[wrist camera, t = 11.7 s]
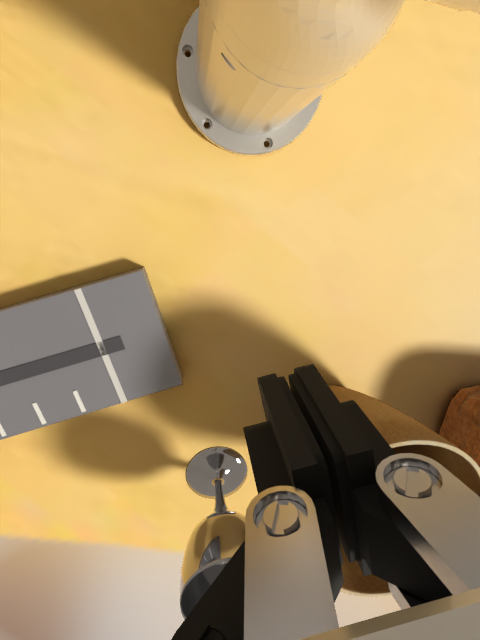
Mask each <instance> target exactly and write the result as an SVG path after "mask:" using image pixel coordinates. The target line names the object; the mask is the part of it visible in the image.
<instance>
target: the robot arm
mask: <svg viewBox="0 0 480 640" xmlns="http://www.w3.org/2000/svg"><path fill="white" fill-rule="evenodd" d="M426 1H430V2H433V3H436V4H439V5H443V6H446V7H449V8H452V9H455V10H459V11H473V12H476V13H479V14H480V0H426ZM403 3H404V0H199V6H198V8H197V9H196V10H195V11H194V12H193V13H192V15H191V17H190V18H189V20H188V22H187V24H186V26H185V27H184V30H183V33H182V36H181V39H180V42H179V46H178V53H177V60H176V72H177V83H178V89H179V93H180V96H181V100H182V103H183V106H184V108H185V110H186V112H187V114H188V116H189V118H190V119H191V121H192V122H193V124H194V125H195V127H196V128H197V129H198V131H199V132H200V133H201V134H202V135H204V136H205V137H206V138H207V139H208V140H209V141H210V142H212V143H213V144H215V145H216V146H218V147H219V148H221V149H223V150H226V151H228V152H231V153H234V154H239V155H244V156H259V155H264V154H268V153H272V152H274V151H276V150H279V149H281V148H283V147H284V146H286V145H288V144H289V143H291V142H292V141H293V140H294V139H295V138H297V137H298V136H299V135H300V134H301V133H302V132H303V131H304V129H305V128H306V127H307V126H308V124H309V123H310V122H311V120H312V118H313V116H314V114H315V112H316V110H317V108H318V105H319V103H320V100H321V97H322V93H323V92H325V91H326V90H327V89H328V88H329V87H331V86H332V85H333V84H334V83H336V82H337V81H338V80H339V79H340V78H342V77H343V76H344V75H345V74H347V73H348V72H349V71H350V70H352V69H353V68H354V67H355V66H356V65H357V64H358V63H359V62H361V61H362V60H363V59H364V58H365V57H366V56H367V55H368V54H369V53H370V52H371V51H372V50H373V49H374V48H375V47H376V46H377V45H378V44H379V43H380V41H381V40H382V39H383V38H384V36H385V35H386V33H387V32H388V30H389V29H390V27H391V26H392V24H393V23H394V21H395V19H396V17H397V15H398V13H399V11H400V9H401V7H402V5H403ZM185 52H190V54H191V56H190V57H186V56H185ZM204 123H209V125H210V127H209V128H205V127H204ZM265 141H267V142H268V143H269V146H268V147H265V146H264V142H265ZM257 379H258V384H259V389H260V393H261V398H262V402H263V407H264V412H265V416H266V421H267V422H263V423H259V424H255V425H251V426H247V427H243V429H244V433H245V438H246V442H247V447H248V451H249V456H250V460H251V464H252V469H253V473H254V478H255V482H256V487H257V491H258V495H257V496H256V497H254V498H253V499H252V501H251V502H250V504H249V506H248V508H247V511H246V516H245V540H244V542H243V543H242V544H241V546H240V547H239V548H238V550H237V551H236V552H235V554H234V555H233V556H232V558H231V559H230V560H229V562H228V563H227V564H226V566H225V567H224V568H223V570H222V571H221V572H220V574H219V575H218V576H217V578H216V579H215V580H214V582H213V583H212V584H211V586H210V587H209V588H208V590H207V591H206V592H205V594H204V595H203V597H202V598H201V599H200V601H199V602H198V603H197V605H196V606H195V607H194V609H193V610H192V611H191V613H190V614H189V615H188V617H187V618H186V619H185V621H184V622H183V623H182V625H181V626H180V627H179V629H178V630H177V631H176V633H175V634H174V636H173V638H172V640H480V495H478V494H476V493H474V492H473V491H472V490H471V489H470V488H468V487H467V486H466V485H465V484H464V483H462V482H461V481H460V480H459V479H458V478H456V477H455V476H454V475H453V474H452V473H451V472H449V471H448V470H447V469H446V468H445V467H443V466H442V465H441V464H439V463H438V462H436V461H435V460H433V459H431V458H429V457H426V456H423V455H419V454H413V453H400V454H396V453H395V452H394V450H393V449H392V448H391V447H390V445H389V444H388V443H387V441H386V440H385V439H384V438H383V436H382V435H381V434H380V433H379V431H378V430H377V429H376V427H375V426H374V425H373V424H372V422H371V421H370V420H369V418H368V417H367V416H366V415H365V413H364V412H363V411H362V409H361V408H360V407H359V406H358V404H357V403H356V402H355V401H354V400H349V401H345V402H341V403H340V402H339V400H338V399H337V397H336V396H335V395H334V393H333V392H332V390H331V389H330V387H329V386H328V385H327V383H326V382H325V380H324V379H323V378H322V376H321V375H320V373H319V372H318V371H317V369H316V368H315V366H314V365H313V364H311V365H307V366H303V367H299V368H295V369H294V374H291V375H289V382H290V387H291V390H290V388H289V386H288V384H287V382H286V380H285V378H284V376H283V377H279V378H277V376H276V374H271V375H267V376H263V377H259V378H257ZM340 542H341V545H342V547H343V549H344V552H345V554H346V556H347V558H348V560H349V562H350V563H351V562H355V561H357V562H358V564H359V566H360V568H361V571H362V573H363V575H364V576H367V575H371V574H372V575H374V576H377V577H379V578H381V579H383V580H385V581H387V582H388V587H389V589H390V591H391V593H392V596H393V597H394V599H395V600H396V602H397V603H398V605H399V606H400V607H401V609H402V610H400V611H396V612H393V613H389V614H386V615H383V616H379V617H375V618H372V619H368V620H365V621H361V622H358V623H354V624H351V625H347V626H344V627H341V628H339V626H338V621H337V616H336V610H335V606H334V602H335V600H336V598H337V596H338V594H339V592H340V590H341V588H342V585H343V583H344V579H343V573H342V567H341V565H343V558H342V552H341V545H340Z"/></svg>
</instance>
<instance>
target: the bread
mask: <svg viewBox="0 0 480 640" xmlns="http://www.w3.org/2000/svg"><path fill="white" fill-rule="evenodd" d="M439 435H440V436H442V437H443V438H445V439H446V440H447V441H449V442H450V443H452V444H453V445H455V446H456V447H458V448H459V449H460V450H462V451H463V452H465V453H466V454H467V455H468V456H470V457H471V458H472V459H473V460H474V461H475V462H476V463H477V465H478V466H479V468H480V385H478V386H473V387H468V388H463V389H460V390H459V391H458V393H457V394H456V395H455V397H454V398H453V399H452V400H451V402H450V405H449V407H448V410H447V412H446V415H445V418H444V420H443V423H442V426H441V429H440V433H439Z"/></svg>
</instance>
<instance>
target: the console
mask: <svg viewBox="0 0 480 640" xmlns="http://www.w3.org/2000/svg"><path fill="white" fill-rule="evenodd" d="M182 383H183V375H182V372H181V370H180V367H179V364H178V361H177V358H176V355H175V353H174V350H173V347H172V344H171V341H170V338H169V336H168V333H167V330H166V327H165V324H164V321H163V318H162V316H161V313H160V310H159V307H158V304H157V301H156V299H155V296H154V293H153V290H152V287H151V284H150V282H149V279H148V276H147V273H146V270H145V267H142V268H139V269H135V270H132V271H128V272H125V273H121V274H118V275H114V276H111V277H107V278H104V279H101V280H97V281H94V282H90V283H87V284H83V285H80V286H76V287H73V288H69V289H66V290H63V291H59V292H56V293H52V294H49V295H45V296H42V297H38V298H35V299H31V300H28V301H25V302H21V303H18V304H14V305H11V306H7V307H4V308H0V440H1V439H5V438H8V437H11V436H15V435H18V434H21V433H24V432H28V431H31V430H34V429H38V428H41V427H44V426H47V425H51V424H54V423H57V422H60V421H64V420H67V419H70V418H74V417H77V416H80V415H83V414H87V413H90V412H93V411H97V410H100V409H103V408H106V407H110V406H113V405H116V404H120V403H124V402H127V401H129V400H133V399H136V398H139V397H143V396H146V395H149V394H152V393H156V392H159V391H162V390H166V389H169V388H172V387H175V386H179V385H182Z"/></svg>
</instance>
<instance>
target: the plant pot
mask: <svg viewBox="0 0 480 640" xmlns="http://www.w3.org/2000/svg"><path fill="white" fill-rule="evenodd" d="M328 386H329V387H330V389H331V390H332V392H333V393H334V395H335V396H336V397H337V399H338V400H339V402H340V403H341V402H345V401H349V400H354V401H355V402H356V403H357V404H358V406H359V407H360V408H361V409H362V411H363V412H364V413H365V415H366V416H367V417H368V418H369V420H370V421H371V422H372V424H373V425H374V426H375V427H376V429H377V430H378V431H379V433H380V434H381V435H382V436H383V438H384V439H385V440H386V441H387V443H388V444H389V445H390V447H391V448H392V449H393V450H394V452H395V453H396V454H400V453H413V454H419V455H423V456H426V457H429V458H431V459H433V460H435V461H436V462H438V463H439V464H441V465H442V466H443V467H445V468H446V469H447V470H448V471H449V472H451V473H452V474H453V475H454V476H455V477H456V478H458V479H459V480H460V481H461V482H462V483H464V484H465V485H466V486H467V487H468V488H470V489H471V490H472V491H473V492H474V493H476V494H478V495H480V468H479V466H478V465H477V463H476V462H475V461H474V460H473V459H472V458H471V457H470V456H468V455H467V454H466V453H465V452H463V451H462V450H460V449H459V448H458V447H456V446H455V445H453V444H452V443H450V442H449V441H447V440H446V439H445V438H443V437H442V436H440V435H439V434H437V433H436V432H434V431H433V430H431V429H429V428H428V427H426V426H425V425H423V424H422V423H420V422H418V421H417V420H415V419H413V418H411V417H410V416H408V415H406V414H405V413H403V412H401V411H399V410H397V409H395V408H393V407H392V406H390V405H388V404H385V403H383V402H381V401H379V400H377V399H375V398H372V397H370V396H368V395H365V394H363V393H360V392H357V391H354V390H351V389H347V388H344V387H340V386H335V385H328ZM340 545H341V542H340ZM341 552H342V558H343V565H341V567H342V573H343V579H344V583H343V585H342V588H341V590H340V591H341V592H344V593H347V594H351V595H356V596H366V597H367V596H368V597H379V596H387V595H392V593H391V591H390V589H389V587H388V582H387V581H385V580H383V579H381V578H379V577H377V576H374V575H372V574H371V575H367V576H364V575H363V573H362V571H361V568H360V566H359V564H358V562H357V561H355V562H351V563H350V562H349V560H348V558H347V556H346V554H345V552H344V549H343V547H342V545H341Z"/></svg>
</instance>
